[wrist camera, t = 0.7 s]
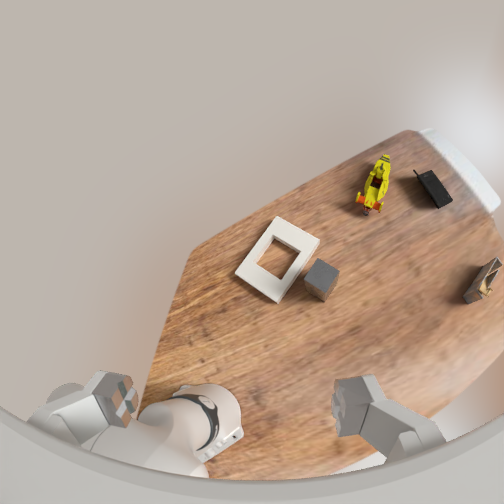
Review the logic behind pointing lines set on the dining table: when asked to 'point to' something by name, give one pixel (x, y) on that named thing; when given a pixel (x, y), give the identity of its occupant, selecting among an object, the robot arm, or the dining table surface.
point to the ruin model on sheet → (483, 281)
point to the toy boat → (373, 193)
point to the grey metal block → (321, 279)
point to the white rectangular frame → (276, 230)
